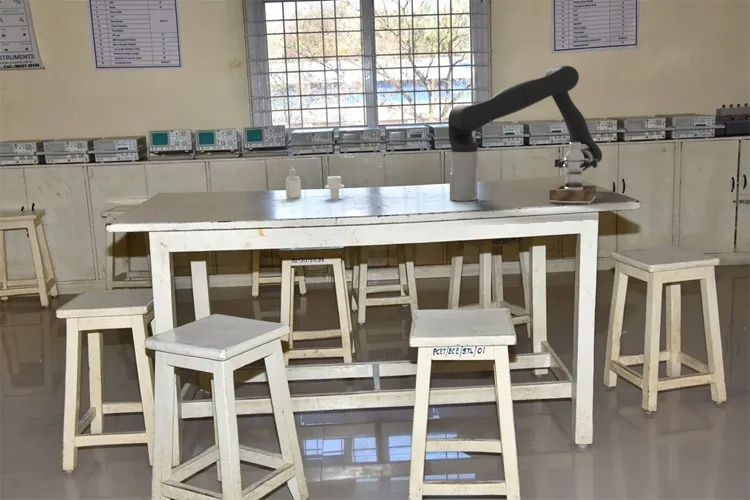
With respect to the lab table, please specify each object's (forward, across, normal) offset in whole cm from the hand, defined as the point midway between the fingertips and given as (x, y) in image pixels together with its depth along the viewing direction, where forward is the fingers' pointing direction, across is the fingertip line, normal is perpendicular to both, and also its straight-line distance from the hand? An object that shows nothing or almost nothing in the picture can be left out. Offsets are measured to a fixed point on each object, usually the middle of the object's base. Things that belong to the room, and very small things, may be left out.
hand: (573, 165), depth 252 cm
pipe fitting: (+13, -85, +13) cm, 87 cm away
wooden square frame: (-2, 0, +12) cm, 13 cm away
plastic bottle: (-2, 0, +13) cm, 13 cm away
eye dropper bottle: (+16, -101, +13) cm, 103 cm away
